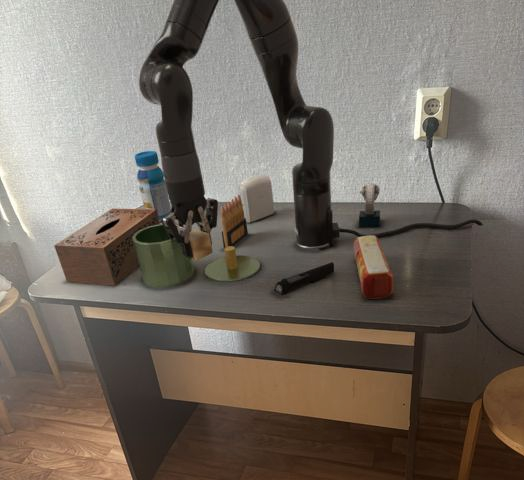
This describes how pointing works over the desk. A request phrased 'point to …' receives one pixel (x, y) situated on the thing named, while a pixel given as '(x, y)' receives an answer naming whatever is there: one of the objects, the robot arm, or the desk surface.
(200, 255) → the block
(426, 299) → the desk surface
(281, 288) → the electric trimmer
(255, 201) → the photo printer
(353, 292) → the desk surface
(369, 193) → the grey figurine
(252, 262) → the lid
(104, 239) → the tissue box cover
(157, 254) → the canister
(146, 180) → the beverage bottle
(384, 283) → the snack package
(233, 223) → the ammunition clip
